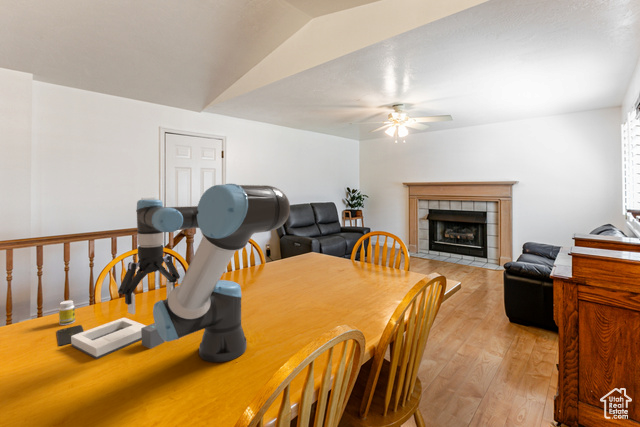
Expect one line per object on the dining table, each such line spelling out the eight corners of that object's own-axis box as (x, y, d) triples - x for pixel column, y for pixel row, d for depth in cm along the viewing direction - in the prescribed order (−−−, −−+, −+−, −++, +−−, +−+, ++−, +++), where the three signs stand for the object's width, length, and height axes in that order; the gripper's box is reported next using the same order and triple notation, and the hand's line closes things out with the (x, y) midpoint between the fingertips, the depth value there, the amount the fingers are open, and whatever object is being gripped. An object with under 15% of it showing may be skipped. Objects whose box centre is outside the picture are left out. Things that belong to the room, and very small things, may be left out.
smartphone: (58, 345, 99) (56, 329, 110) (58, 348, 99) (56, 332, 110) (86, 338, 104) (81, 323, 115) (86, 340, 104) (81, 326, 115)
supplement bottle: (76, 322, 117) (75, 302, 116) (60, 326, 113) (59, 305, 113) (74, 319, 120) (73, 298, 119) (58, 322, 117) (57, 302, 116)
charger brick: (164, 342, 103) (164, 325, 103) (150, 348, 99) (150, 331, 99) (155, 338, 106) (155, 322, 105) (141, 345, 101) (141, 328, 101)
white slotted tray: (149, 336, 107) (149, 326, 107) (96, 359, 92) (96, 348, 92) (124, 326, 115) (124, 317, 114) (71, 346, 100) (71, 335, 99)
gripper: (176, 238, 112) (177, 292, 114) (103, 250, 90) (105, 316, 92) (189, 240, 109) (190, 296, 111) (117, 253, 87) (119, 322, 89)
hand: (152, 305), depth 102 cm, fingers open, 13 cm apart
